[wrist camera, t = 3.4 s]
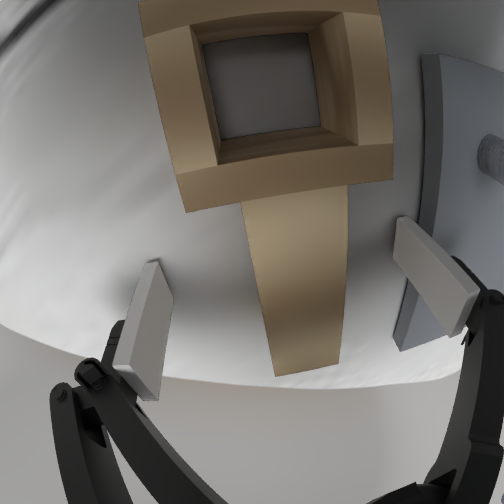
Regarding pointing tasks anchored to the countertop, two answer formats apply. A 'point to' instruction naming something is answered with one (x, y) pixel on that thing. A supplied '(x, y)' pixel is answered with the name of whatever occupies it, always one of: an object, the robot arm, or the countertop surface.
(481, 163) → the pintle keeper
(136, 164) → the countertop surface
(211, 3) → the link
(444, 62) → the base plate
